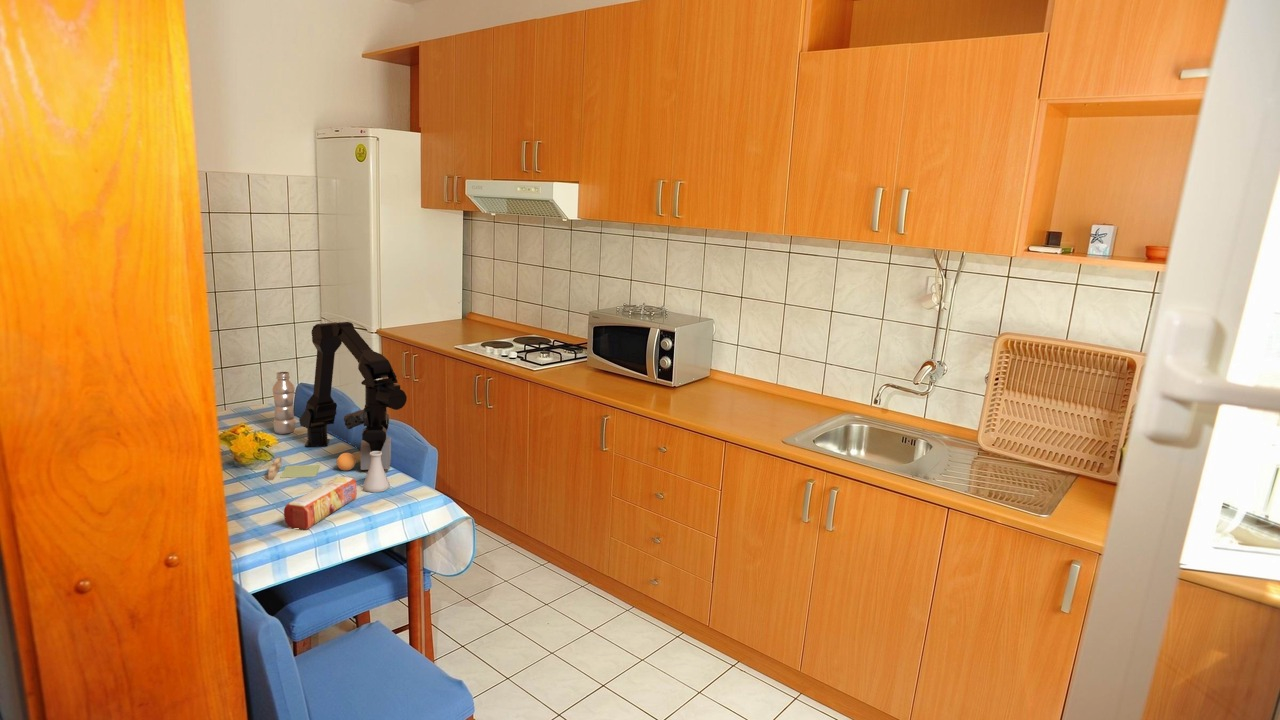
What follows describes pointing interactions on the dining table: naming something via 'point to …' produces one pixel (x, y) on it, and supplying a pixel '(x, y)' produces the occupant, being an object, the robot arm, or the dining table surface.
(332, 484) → the snack package
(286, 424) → the plastic bottle
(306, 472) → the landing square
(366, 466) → the smooth grey cube
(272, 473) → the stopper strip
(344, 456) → the ball
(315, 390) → the robot arm
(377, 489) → the flask
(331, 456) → the dining table surface
